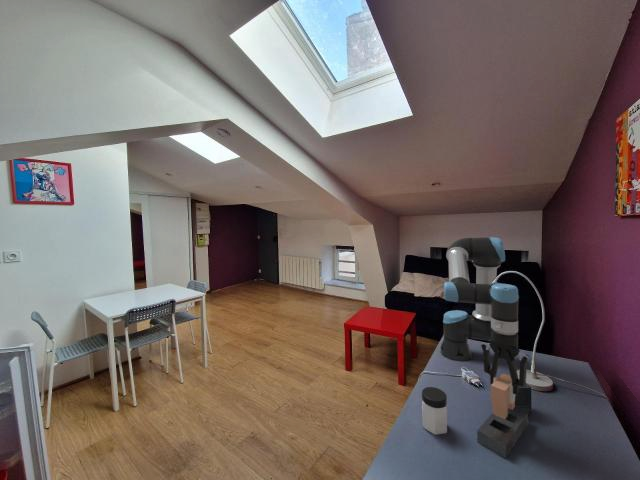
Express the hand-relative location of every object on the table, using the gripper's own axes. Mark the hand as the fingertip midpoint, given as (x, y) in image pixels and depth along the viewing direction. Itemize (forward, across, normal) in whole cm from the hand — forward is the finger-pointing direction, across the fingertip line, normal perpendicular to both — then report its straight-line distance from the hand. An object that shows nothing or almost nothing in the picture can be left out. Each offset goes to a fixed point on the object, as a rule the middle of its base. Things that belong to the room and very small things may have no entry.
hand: (503, 398), depth 90 cm
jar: (+13, -17, -15) cm, 26 cm away
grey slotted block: (+12, 0, 0) cm, 12 cm away
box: (+12, -1, +16) cm, 21 cm away
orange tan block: (+4, 0, 0) cm, 4 cm away
